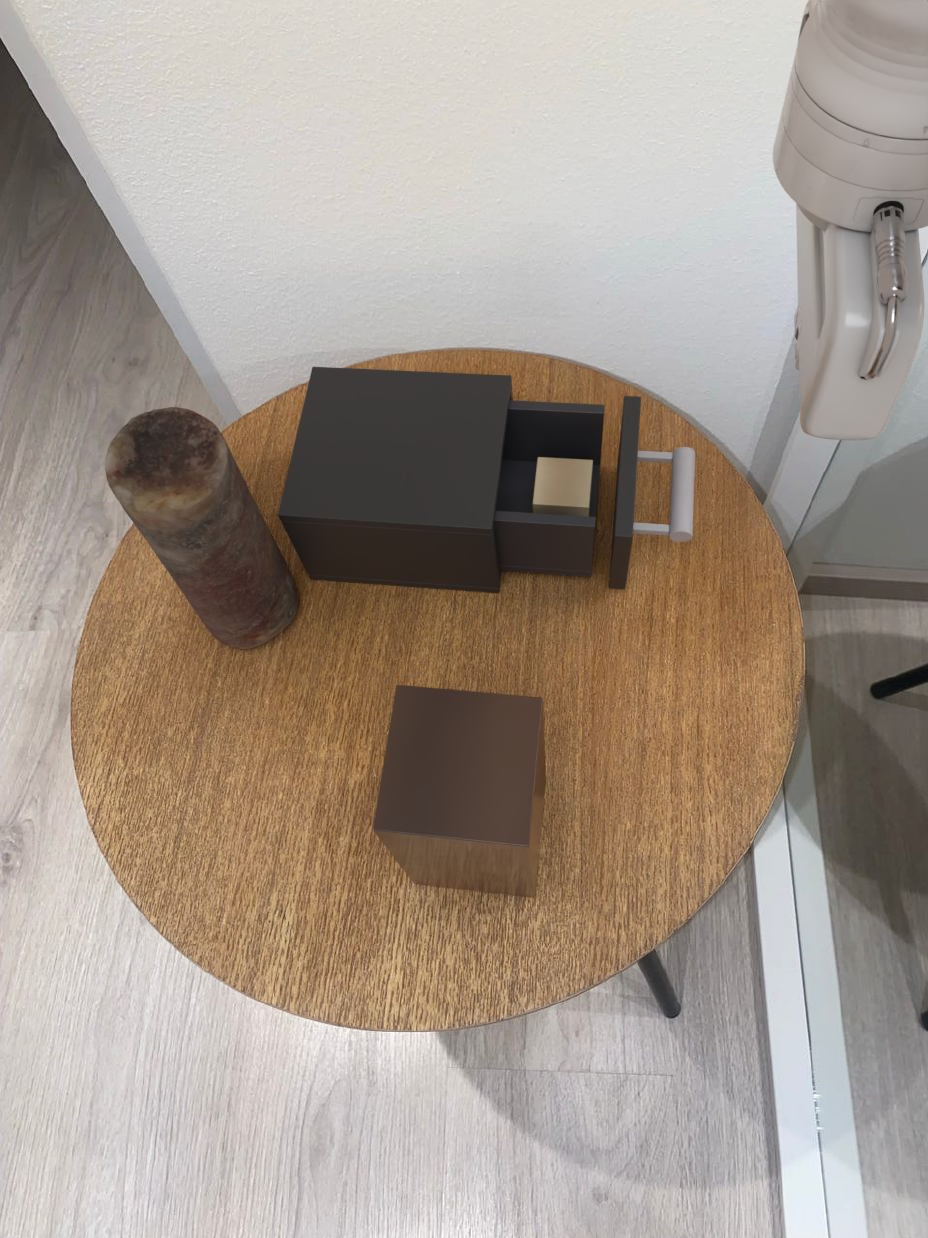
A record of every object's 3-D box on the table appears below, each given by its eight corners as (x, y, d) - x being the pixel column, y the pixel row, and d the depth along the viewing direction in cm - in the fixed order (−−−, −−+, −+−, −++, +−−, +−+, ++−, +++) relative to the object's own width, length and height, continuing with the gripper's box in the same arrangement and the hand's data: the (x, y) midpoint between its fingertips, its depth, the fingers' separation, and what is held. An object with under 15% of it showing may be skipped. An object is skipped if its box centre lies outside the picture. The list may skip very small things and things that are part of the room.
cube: (591, 489, 73) (593, 459, 70) (587, 535, 72) (589, 507, 68) (538, 486, 74) (537, 456, 70) (533, 532, 72) (532, 503, 69)
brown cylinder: (275, 547, 76) (188, 383, 58) (323, 616, 73) (246, 466, 55) (190, 599, 75) (73, 449, 56) (235, 671, 72) (127, 537, 54)
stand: (546, 778, 66) (543, 696, 52) (535, 898, 63) (528, 847, 49) (430, 767, 67) (396, 684, 53) (413, 884, 64) (372, 830, 50)
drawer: (688, 461, 75) (702, 398, 68) (683, 594, 70) (698, 541, 63) (461, 449, 77) (451, 387, 70) (442, 577, 73) (430, 523, 65)
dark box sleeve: (516, 452, 78) (511, 375, 69) (499, 593, 73) (491, 528, 64) (338, 442, 80) (312, 366, 71) (309, 579, 74) (277, 515, 66)
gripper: (988, 320, 37) (878, 511, 49) (946, -25, 45) (861, 214, 57) (814, 314, 37) (750, 504, 50) (805, -23, 46) (752, 211, 58)
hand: (809, 346), depth 54 cm, fingers closed
